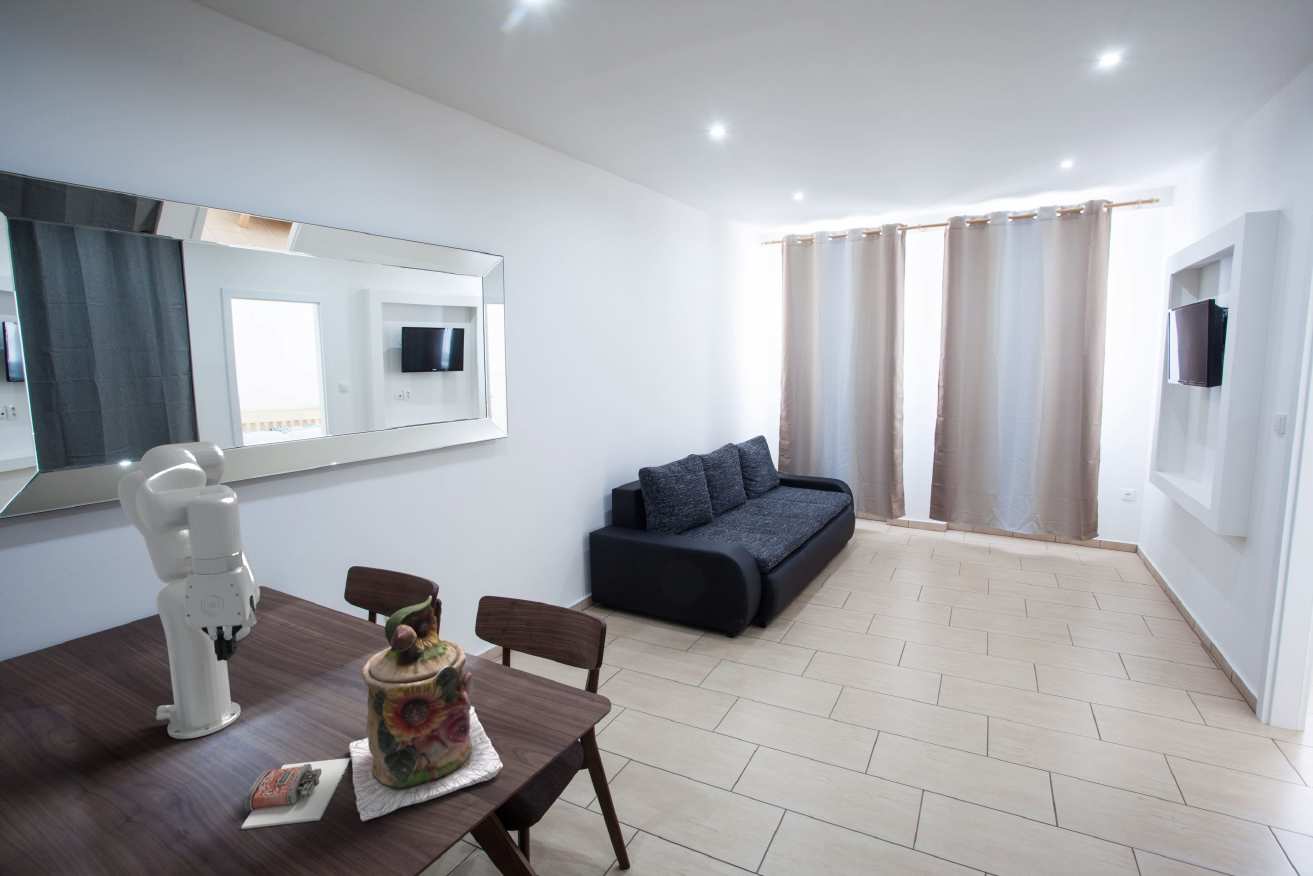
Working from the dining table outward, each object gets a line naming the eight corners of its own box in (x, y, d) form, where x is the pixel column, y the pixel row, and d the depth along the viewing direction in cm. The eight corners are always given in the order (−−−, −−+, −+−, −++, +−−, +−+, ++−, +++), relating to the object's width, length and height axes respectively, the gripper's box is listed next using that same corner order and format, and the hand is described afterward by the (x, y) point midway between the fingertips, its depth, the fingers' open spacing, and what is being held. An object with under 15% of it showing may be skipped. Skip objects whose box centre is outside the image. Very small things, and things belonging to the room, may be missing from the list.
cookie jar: (347, 750, 123) (334, 594, 119) (472, 713, 135) (465, 570, 131) (359, 830, 102) (344, 643, 98) (507, 777, 114) (499, 610, 110)
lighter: (266, 765, 113) (324, 757, 114) (270, 781, 113) (327, 773, 114) (243, 799, 105) (305, 789, 106) (247, 816, 106) (309, 806, 107)
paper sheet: (241, 829, 102) (241, 827, 102) (283, 767, 118) (283, 765, 118) (319, 820, 104) (319, 817, 104) (350, 759, 120) (350, 757, 120)
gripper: (159, 571, 108) (169, 669, 111) (252, 568, 110) (260, 665, 113) (184, 556, 115) (194, 649, 118) (272, 554, 117) (279, 645, 120)
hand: (226, 656), depth 115 cm, fingers closed
